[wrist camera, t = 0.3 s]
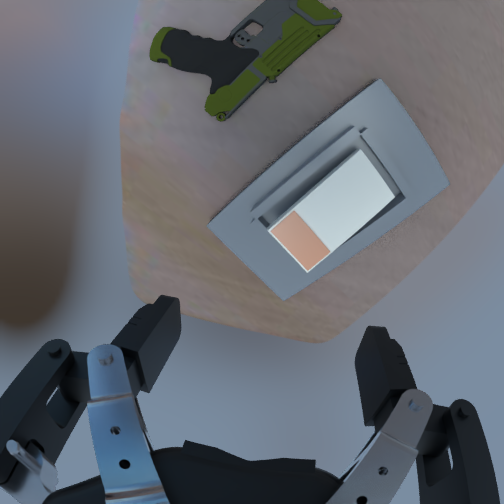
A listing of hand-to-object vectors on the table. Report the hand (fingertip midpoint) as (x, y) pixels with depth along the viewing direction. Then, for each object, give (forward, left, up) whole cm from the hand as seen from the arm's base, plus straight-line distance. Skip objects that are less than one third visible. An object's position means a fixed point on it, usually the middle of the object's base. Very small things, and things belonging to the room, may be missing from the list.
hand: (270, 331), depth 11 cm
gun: (-8, -18, -23) cm, 30 cm away
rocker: (-2, +3, -18) cm, 18 cm away
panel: (-2, +3, -23) cm, 23 cm away
